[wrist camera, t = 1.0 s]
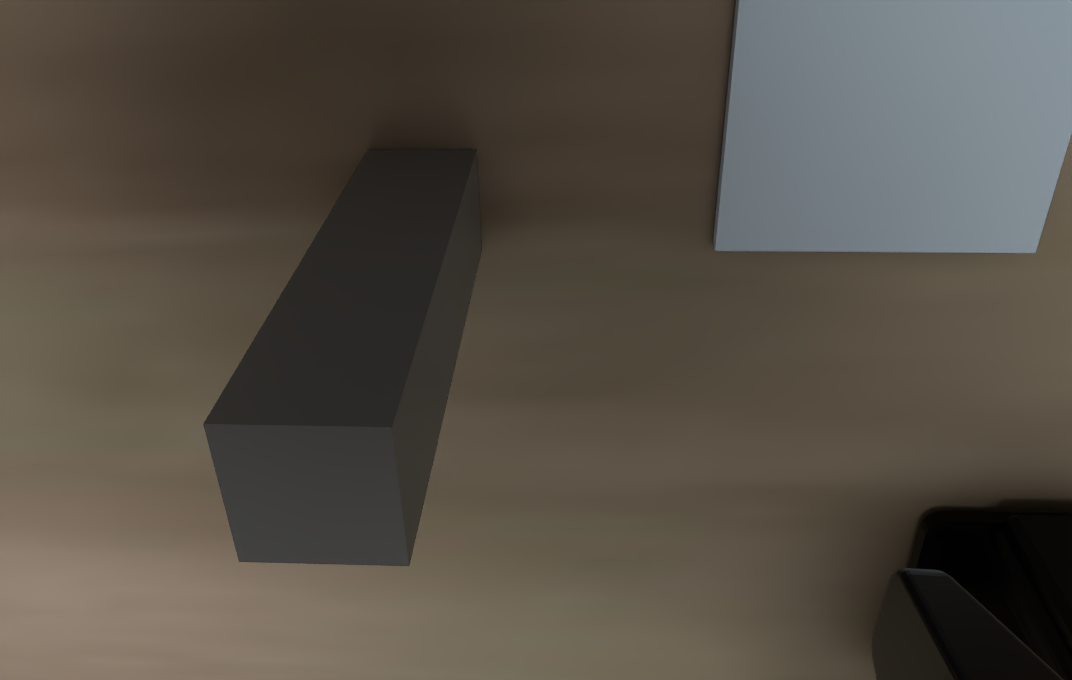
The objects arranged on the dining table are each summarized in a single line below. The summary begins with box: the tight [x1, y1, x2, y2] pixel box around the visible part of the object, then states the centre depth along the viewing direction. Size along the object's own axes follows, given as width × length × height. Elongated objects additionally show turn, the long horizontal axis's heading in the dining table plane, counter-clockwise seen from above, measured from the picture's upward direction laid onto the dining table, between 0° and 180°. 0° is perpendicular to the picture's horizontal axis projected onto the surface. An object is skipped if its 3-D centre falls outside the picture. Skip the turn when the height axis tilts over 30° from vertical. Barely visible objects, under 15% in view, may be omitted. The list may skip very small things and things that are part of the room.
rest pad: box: [713, 0, 1072, 253], centre depth 19 cm, size 7×7×1 cm
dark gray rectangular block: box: [204, 150, 482, 566], centre depth 16 cm, size 2×2×10 cm
